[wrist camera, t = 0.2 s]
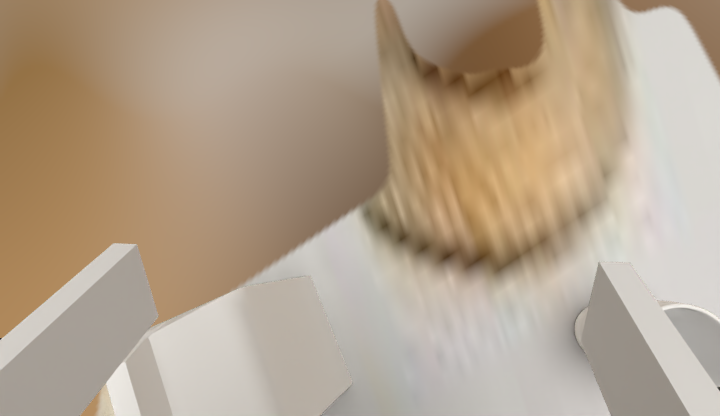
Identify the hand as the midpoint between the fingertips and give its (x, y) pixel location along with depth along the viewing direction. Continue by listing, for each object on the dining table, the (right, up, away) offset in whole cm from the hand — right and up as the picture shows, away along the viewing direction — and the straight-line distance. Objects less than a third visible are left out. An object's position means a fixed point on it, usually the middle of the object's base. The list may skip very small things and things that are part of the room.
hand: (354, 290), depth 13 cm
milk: (-8, -13, +36) cm, 39 cm away
